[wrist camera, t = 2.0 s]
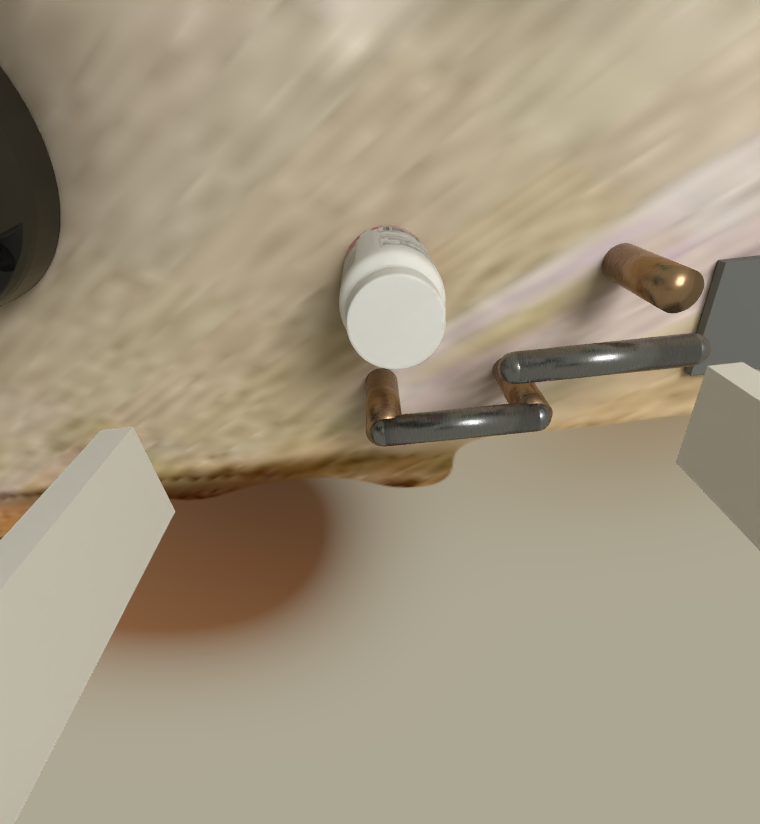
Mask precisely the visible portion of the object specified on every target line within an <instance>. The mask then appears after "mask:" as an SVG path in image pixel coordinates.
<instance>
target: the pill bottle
mask: <svg viewBox="0 0 760 824" xmlns="http://www.w3.org/2000/svg"><path fill="white" fill-rule="evenodd" d="M445 304H446V297H445V290H444V286H443V282H442V279H441V277H440V275H439V273H438V271H437V269H436V267H435V265H434V263H433V262H432V260H431V258H430V256H429V255H428V253H427V251H426V249H425V247H424V246H423V244H422V243H421V241H420V240H419V239H418V238H417V237H416V236H415V235H413V234H412V233H411V232H409V231H407V230H405V229H403V228H400V227H397V226H391V225H384V226H378V227H374V228H372V229H369V230H367V231H366V232H364V233H362V234H361V235H360V236H359V237H358V238H357V239H356V240H355V241H354V242H353V244H352V245H351V247H350V248H349V250H348V252H347V255H346V257H345V261H344V266H343V274H342V281H341V288H340V295H339V309H340V315H341V318H342V321H343V324H344V326H345V328H346V330H347V334H348V337H349V340H350V342H351V344H352V346H353V348H354V349H355V351H356V352H357V353H358V354H359V355H360V356H361V357H362V358H363V359H364V360H366V361H367V362H369V363H371V364H373V365H375V366H378V367H381V368H385V369H405V368H409V367H412V366H415V365H417V364H419V363H421V362H423V361H424V360H425V359H427V358H428V357H429V356H430V355H431V354H432V353H433V352H434V351H435V350H436V349H437V347H438V346H439V344H440V342H441V340H442V338H443V335H444V332H445V327H446V311H445Z"/></svg>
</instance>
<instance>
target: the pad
mask: <svg viewBox="0 0 760 824" xmlns="http://www.w3.org/2000/svg"><path fill="white" fill-rule="evenodd" d="M697 334H700V335H703V336H704V337H706V338H707V339H708V340H709V342H710V345H711V352H710V355H709V357H708V358H707V359H706V360H705V361H704V362H702V363H701V364H698V365H695V366H689V367H686V369H685V372H686V373H688V374H689V375H690V376H693V375H703V374H705V372H706V369H707V366H711V365H720V364H730V363H739V362H743V363H745V364H747V365H748V366H750V367H752V368H753V369H760V256H751V257H742V258H733V259H724V260H718V263H717V267H716V270H715V273H714V277H713V280H712V283H711V287H710V290H709V293H708V296H707V300H706V303H705V306H704V310H703V313H702V316H701V320H700V323H699V326H698V330H697Z"/></svg>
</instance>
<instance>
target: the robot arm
mask: <svg viewBox="0 0 760 824" xmlns="http://www.w3.org/2000/svg"><path fill="white" fill-rule="evenodd" d="M59 228H60V204H59V195H58V188H57V183H56V179H55V174H54V171H53V167H52V163H51V160H50V157H49V155H48V152H47V149H46V146H45V144H44V141H43V139H42V136H41V134H40V132H39V130H38V128H37V126H36V124H35V121H34V119H33V118H32V116H31V114H30V112H29V110H28V108H27V106H26V105H25V103H24V101H23V100H22V98H21V96H20V95H19V93H18V91H17V90H16V88H15V87H14V85H13V84H12V82H11V81H10V79H9V78H8V77H7V75H6V74H5V72H4V71H3V70H2V68H1V67H0V306H1V305H3V304H5V303H7V302H10V301H12V300H14V299H16V298H18V297H19V296H21V295H23V294H24V293H26V292H27V291H28V290H30V289H31V288H32V287H33V286H34V285H35V284H36V283H37V282H38V281H39V280H40V278H41V277H42V276H43V274H44V273H45V271H46V270H47V268H48V266H49V264H50V263H51V260H52V258H53V255H54V253H55V249H56V246H57V241H58V236H59ZM676 463H677V464H678V465H679V466H680V467H681V468H682V469H683V470H684V471H685V472H686V473H687V474H688V476H689V477H690V478H691V479H692V480H693V481H694V482H695V483H696V484H697V485H698V486H699V487H700V488H701V489H702V490H703V491H704V492H705V493H706V494H707V495H708V496H709V498H710V499H711V500H712V501H713V502H714V503H715V504H716V505H717V506H718V507H719V508H720V509H721V510H722V511H723V512H724V513H725V514H726V516H728V518H729V519H730V520H732V522H733V523H734V524H735V525H736V526H737V527H738V528H739V529H740V530H741V531H742V532H743V533H744V534H745V536H746V537H747V538H748V539H749V540H750V541H751V542H752V543H753V544H754V545H755V546H756V547H757V548H758V549H759V550H760V372H758V371H757V370H755V369H753V368H752V367H750V366H748V365H747V364H745V363H743V362H739V363H730V364H720V365H711V366H707V369H706V372H705V375H704V378H703V381H702V384H701V387H700V390H699V393H698V397H697V400H696V403H695V406H694V409H693V412H692V415H691V418H690V421H689V424H688V427H687V430H686V433H685V437H684V440H683V443H682V446H681V449H680V452H679V455H678V458H677V461H676ZM174 513H175V510H174V508H173V506H172V504H171V502H170V500H169V498H168V496H167V494H166V492H165V490H164V488H163V486H162V484H161V482H160V480H159V478H158V476H157V474H156V472H155V470H154V468H153V466H152V464H151V462H150V460H149V458H148V456H147V454H146V452H145V450H144V448H143V446H142V444H141V442H140V440H139V438H138V436H137V434H136V432H135V430H134V428H133V427H124V428H114V429H105V430H101V431H100V432H99V433H98V434H97V435H96V436H95V437H94V438H93V439H92V440H91V441H90V443H89V444H88V445H87V446H86V447H85V448H84V449H83V450H82V451H81V452H80V454H79V455H78V456H77V457H76V458H75V459H74V460H73V461H72V462H71V463H70V465H69V466H68V467H67V468H66V469H65V470H64V471H63V472H62V473H61V474H60V476H59V477H58V478H57V479H56V480H55V481H54V482H53V483H52V484H51V485H50V486H49V488H48V489H47V490H46V491H45V492H44V493H43V494H42V495H41V496H40V497H39V499H38V500H37V501H36V502H35V503H34V504H33V505H32V506H31V507H30V508H29V510H28V511H27V512H26V513H25V514H24V515H23V516H22V517H21V518H20V519H19V520H18V522H17V523H16V524H15V525H14V526H13V527H12V528H11V529H10V530H9V531H8V533H7V534H6V535H5V536H4V537H3V538H2V539H1V540H0V824H15V822H16V820H17V818H18V816H19V814H20V812H21V810H22V808H23V806H24V804H25V802H26V800H27V798H28V796H29V795H30V793H31V791H32V789H33V787H34V785H35V783H36V781H37V779H38V777H39V775H40V773H41V771H42V769H43V767H44V765H45V763H46V761H47V760H48V758H49V756H50V754H51V752H52V749H53V748H54V746H55V744H56V742H57V740H58V738H59V736H60V734H61V732H62V730H63V728H64V726H65V725H66V723H67V721H68V719H69V717H70V715H71V713H72V711H73V709H74V707H75V705H76V703H77V701H78V699H79V697H80V695H81V693H82V691H83V690H84V688H85V686H86V684H87V682H88V680H89V678H90V676H91V674H92V672H93V670H94V668H95V666H96V664H97V662H98V660H99V658H100V656H101V655H102V652H103V651H104V649H105V647H106V645H107V643H108V641H109V639H110V637H111V635H112V633H113V631H114V629H115V627H116V625H117V623H118V622H119V620H120V617H121V616H122V614H123V612H124V610H125V608H126V606H127V604H128V602H129V600H130V598H131V596H132V594H133V592H134V590H135V589H136V586H137V585H138V583H139V581H140V579H141V577H142V575H143V573H144V571H145V569H146V567H147V565H148V563H149V561H150V559H151V557H152V555H153V554H154V552H155V550H156V548H157V546H158V544H159V542H160V540H161V538H162V536H163V534H164V532H165V530H166V528H167V526H168V524H169V522H170V520H171V519H172V517H173V515H174Z"/></svg>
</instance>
